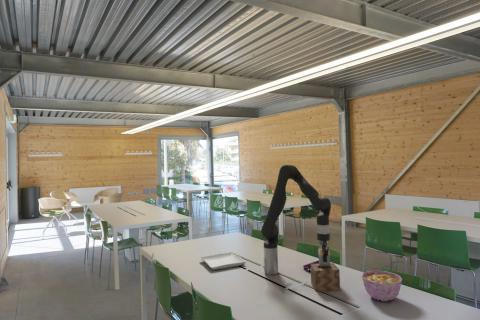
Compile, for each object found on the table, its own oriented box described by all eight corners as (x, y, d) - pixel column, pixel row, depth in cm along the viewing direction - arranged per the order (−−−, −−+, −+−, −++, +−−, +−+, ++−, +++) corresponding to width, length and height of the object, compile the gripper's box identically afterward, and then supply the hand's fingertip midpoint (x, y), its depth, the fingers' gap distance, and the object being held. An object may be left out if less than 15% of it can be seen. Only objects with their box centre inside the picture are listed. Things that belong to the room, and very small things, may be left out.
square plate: (211, 272, 230) (211, 267, 230) (199, 261, 255) (199, 256, 254) (247, 266, 241) (246, 260, 241) (232, 256, 266) (232, 251, 266)
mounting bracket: (304, 279, 227) (324, 273, 214) (300, 266, 230) (319, 260, 217) (313, 275, 233) (332, 269, 220) (309, 263, 236) (327, 257, 223)
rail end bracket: (320, 267, 195) (319, 250, 195) (318, 265, 198) (318, 248, 198) (330, 266, 196) (329, 249, 195) (328, 265, 199) (328, 248, 198)
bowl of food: (391, 289, 190) (390, 269, 189) (410, 305, 170) (409, 282, 169) (356, 291, 189) (356, 271, 189) (371, 307, 169) (371, 284, 169)
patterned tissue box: (315, 291, 191) (315, 270, 191) (311, 283, 203) (310, 263, 203) (340, 290, 191) (339, 269, 191) (334, 282, 203) (333, 263, 203)
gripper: (314, 229, 204) (315, 257, 204) (319, 234, 190) (320, 265, 190) (326, 229, 204) (327, 257, 204) (333, 234, 190) (334, 264, 190)
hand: (324, 260), depth 197 cm, fingers closed on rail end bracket, 3 cm apart
